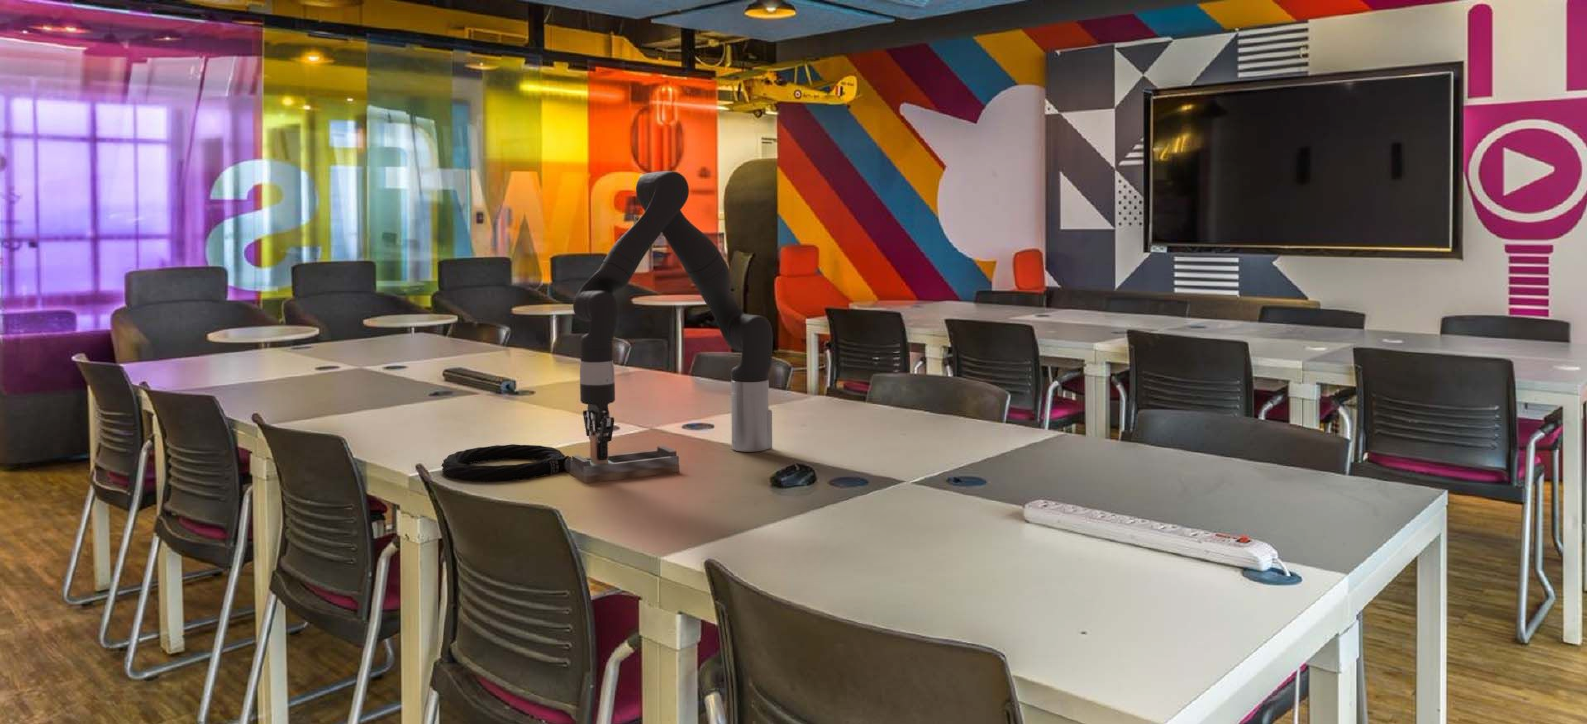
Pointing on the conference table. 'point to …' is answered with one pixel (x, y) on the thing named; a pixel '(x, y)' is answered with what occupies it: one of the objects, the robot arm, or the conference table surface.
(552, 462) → the cable lock
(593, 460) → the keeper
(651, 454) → the board
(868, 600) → the conference table surface
